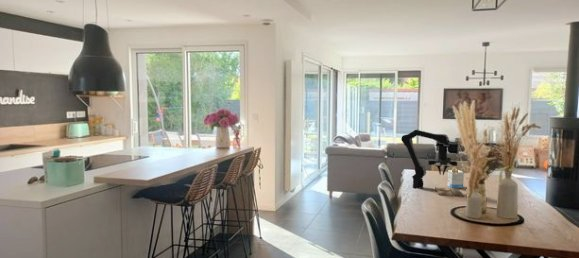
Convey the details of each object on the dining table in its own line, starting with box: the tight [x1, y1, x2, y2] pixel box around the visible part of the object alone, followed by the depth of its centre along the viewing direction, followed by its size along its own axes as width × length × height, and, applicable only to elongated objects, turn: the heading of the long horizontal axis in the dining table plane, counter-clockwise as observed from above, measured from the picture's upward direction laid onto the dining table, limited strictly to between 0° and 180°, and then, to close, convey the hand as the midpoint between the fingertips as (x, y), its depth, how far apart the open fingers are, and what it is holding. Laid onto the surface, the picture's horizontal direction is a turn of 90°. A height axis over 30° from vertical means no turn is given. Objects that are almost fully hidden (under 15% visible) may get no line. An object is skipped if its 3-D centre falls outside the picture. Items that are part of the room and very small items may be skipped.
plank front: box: [436, 190, 454, 197], centre depth 270 cm, size 9×7×1 cm
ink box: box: [447, 169, 465, 189], centre depth 292 cm, size 9×8×13 cm
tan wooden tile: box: [449, 187, 464, 198], centre depth 273 cm, size 6×18×1 cm, turn 168°
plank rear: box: [434, 186, 451, 192], centre depth 280 cm, size 9×7×1 cm
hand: (441, 175), depth 280 cm, fingers closed
